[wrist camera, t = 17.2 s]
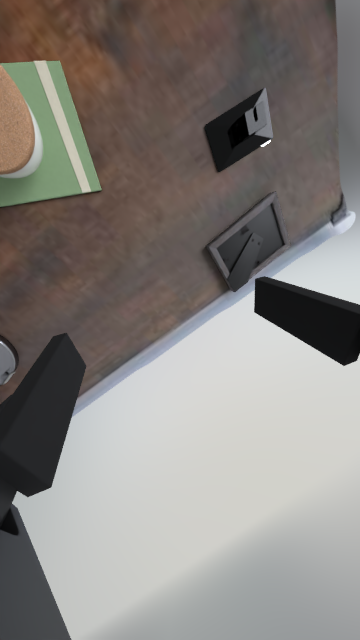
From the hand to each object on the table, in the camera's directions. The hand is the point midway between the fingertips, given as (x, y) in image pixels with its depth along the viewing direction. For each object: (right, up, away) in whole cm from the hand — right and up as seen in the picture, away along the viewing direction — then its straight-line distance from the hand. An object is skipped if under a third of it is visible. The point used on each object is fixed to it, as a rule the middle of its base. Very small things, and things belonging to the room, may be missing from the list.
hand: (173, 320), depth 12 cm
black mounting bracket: (+12, +35, +20) cm, 42 cm away
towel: (-24, +26, +13) cm, 37 cm away
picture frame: (+17, +18, +30) cm, 39 cm away
